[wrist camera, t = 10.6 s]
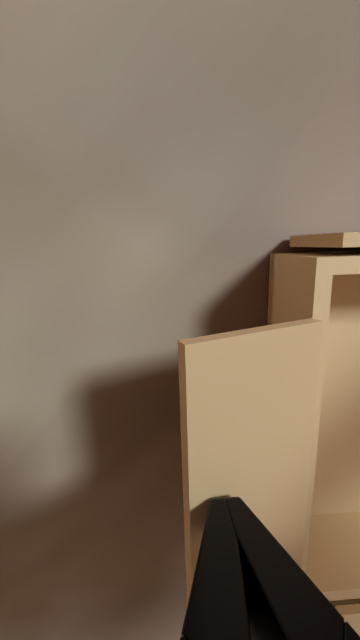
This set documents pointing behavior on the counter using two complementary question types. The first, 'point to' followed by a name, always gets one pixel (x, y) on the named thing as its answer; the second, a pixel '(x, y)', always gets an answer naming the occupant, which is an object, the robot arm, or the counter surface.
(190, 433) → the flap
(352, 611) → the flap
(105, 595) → the counter surface
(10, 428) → the counter surface
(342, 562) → the carton
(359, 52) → the counter surface
